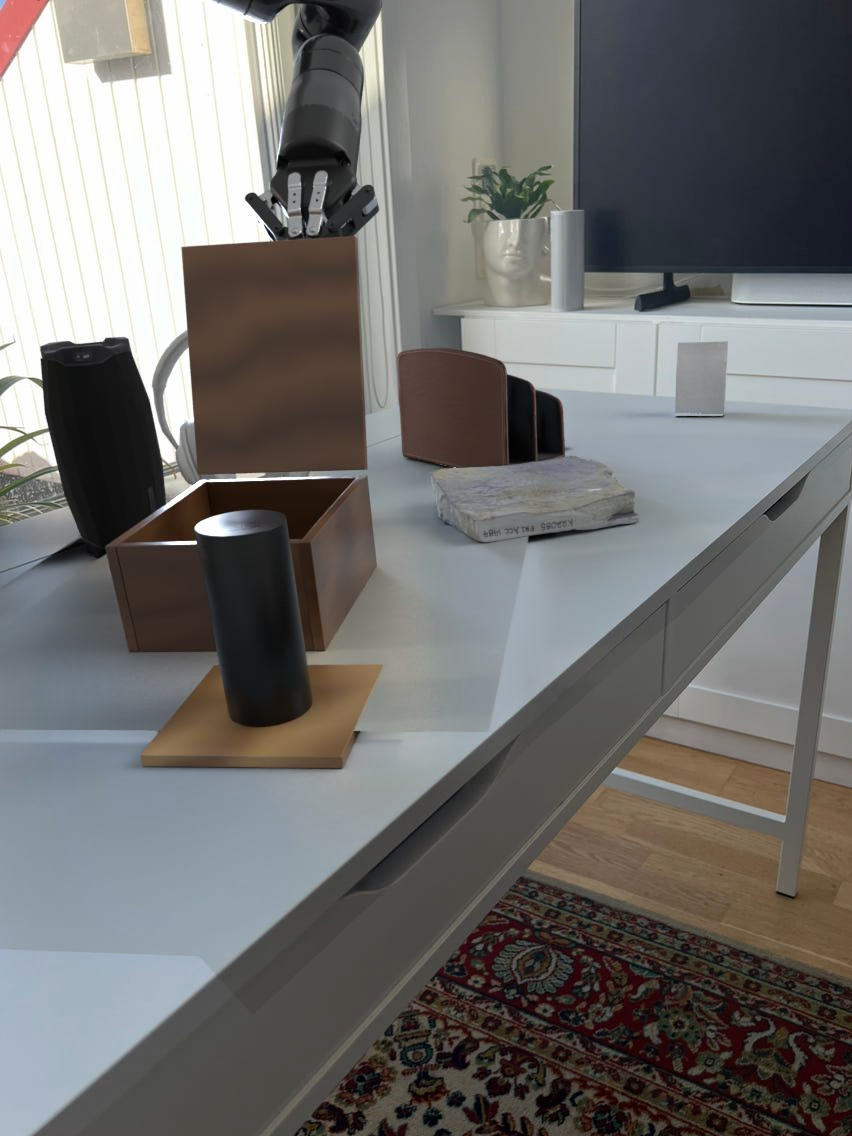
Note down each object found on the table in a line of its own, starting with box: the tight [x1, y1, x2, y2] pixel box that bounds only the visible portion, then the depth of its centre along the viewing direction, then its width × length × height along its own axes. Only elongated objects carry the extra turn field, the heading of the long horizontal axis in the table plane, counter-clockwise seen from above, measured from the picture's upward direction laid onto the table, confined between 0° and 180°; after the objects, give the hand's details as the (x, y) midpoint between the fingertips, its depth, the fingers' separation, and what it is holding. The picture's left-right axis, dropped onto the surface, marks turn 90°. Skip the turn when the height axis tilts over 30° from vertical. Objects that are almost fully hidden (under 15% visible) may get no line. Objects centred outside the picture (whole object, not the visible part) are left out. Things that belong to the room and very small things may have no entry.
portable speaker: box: [39, 336, 167, 558], centre depth 91 cm, size 9×9×20 cm
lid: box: [180, 235, 368, 475], centre depth 79 cm, size 18×15×1 cm
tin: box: [194, 510, 313, 727], centre depth 57 cm, size 5×5×12 cm
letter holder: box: [396, 347, 566, 468], centre depth 116 cm, size 10×20×14 cm, turn 42°
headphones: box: [151, 328, 311, 486], centre depth 105 cm, size 19×9×20 cm, turn 94°
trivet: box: [139, 663, 385, 769], centre depth 60 cm, size 12×12×1 cm
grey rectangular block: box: [674, 340, 729, 415], centre depth 135 cm, size 4×7×10 cm, turn 75°
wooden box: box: [105, 474, 378, 653], centre depth 75 cm, size 18×15×9 cm
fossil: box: [429, 455, 640, 543], centre depth 97 cm, size 20×5×17 cm
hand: (302, 278), depth 87 cm, fingers closed
